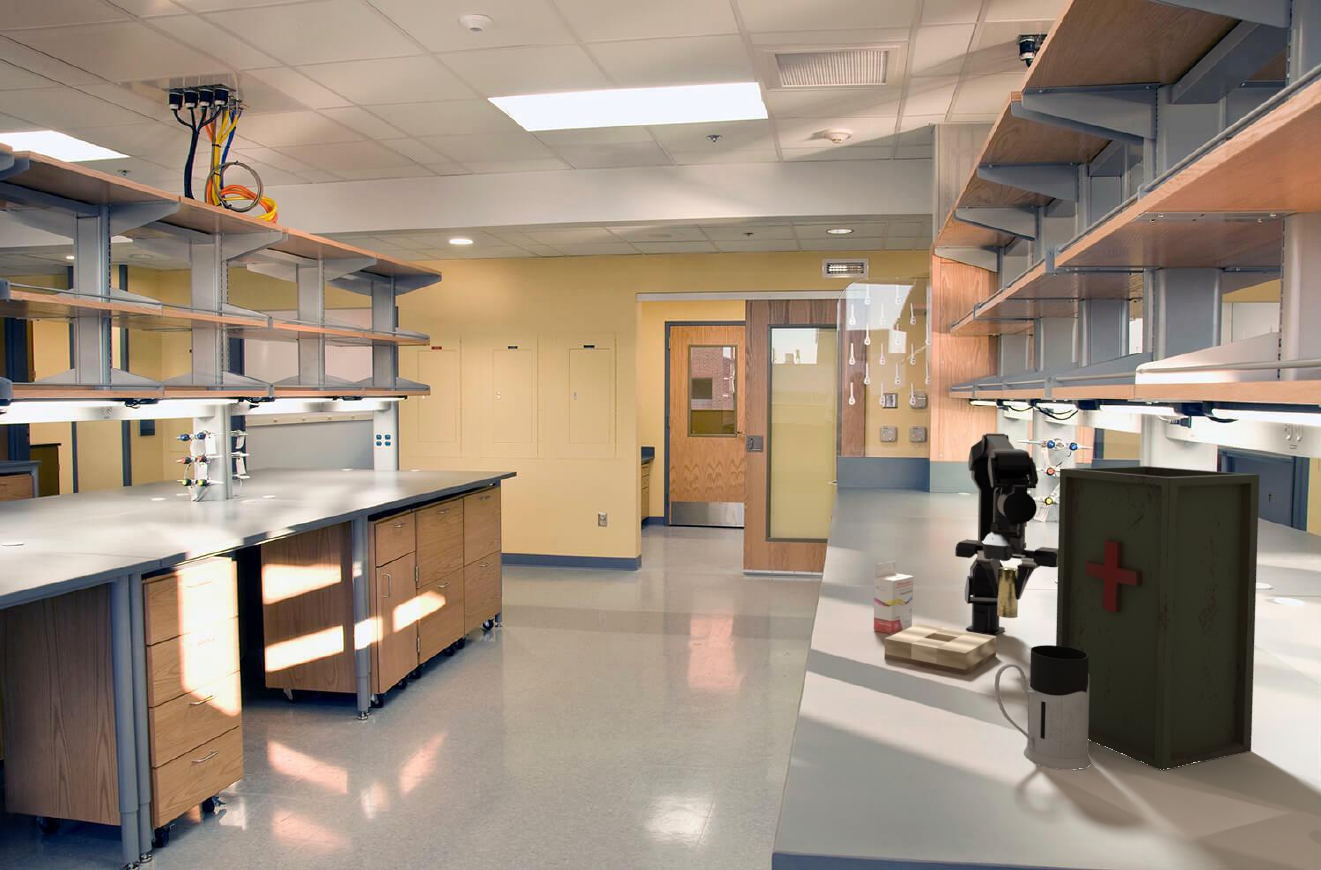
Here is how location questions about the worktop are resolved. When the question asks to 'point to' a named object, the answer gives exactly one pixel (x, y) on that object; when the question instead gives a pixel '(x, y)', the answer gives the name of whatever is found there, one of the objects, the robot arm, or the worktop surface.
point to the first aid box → (1161, 607)
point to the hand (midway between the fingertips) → (1007, 597)
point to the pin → (1007, 592)
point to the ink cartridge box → (892, 599)
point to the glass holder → (1055, 706)
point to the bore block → (941, 648)
